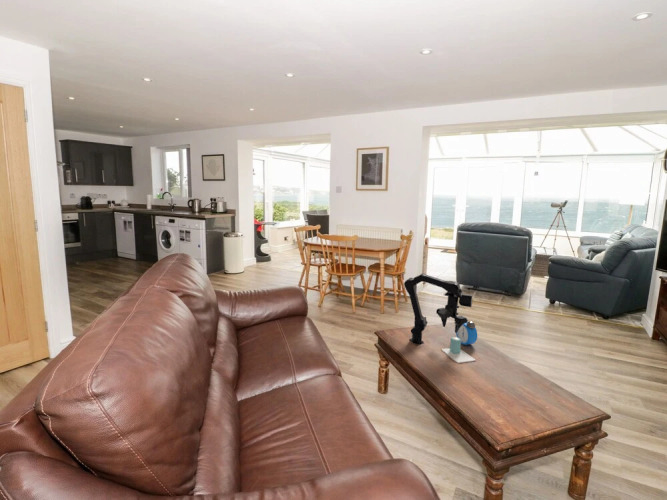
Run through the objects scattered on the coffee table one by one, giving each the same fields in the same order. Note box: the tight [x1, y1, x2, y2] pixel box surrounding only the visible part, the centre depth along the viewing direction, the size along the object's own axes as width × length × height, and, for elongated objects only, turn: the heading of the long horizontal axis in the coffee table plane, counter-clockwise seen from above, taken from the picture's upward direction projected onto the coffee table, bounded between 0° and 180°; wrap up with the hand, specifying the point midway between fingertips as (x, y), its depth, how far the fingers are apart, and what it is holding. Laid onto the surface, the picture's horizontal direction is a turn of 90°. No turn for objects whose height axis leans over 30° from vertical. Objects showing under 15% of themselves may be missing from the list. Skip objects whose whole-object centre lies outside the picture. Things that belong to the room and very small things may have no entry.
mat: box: [441, 347, 476, 364], centre depth 201 cm, size 16×11×1 cm
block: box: [449, 336, 462, 354], centre depth 203 cm, size 4×4×8 cm
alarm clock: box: [455, 319, 478, 346], centre depth 215 cm, size 13×6×15 cm, turn 17°
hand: (449, 329), depth 208 cm, fingers open, 9 cm apart
